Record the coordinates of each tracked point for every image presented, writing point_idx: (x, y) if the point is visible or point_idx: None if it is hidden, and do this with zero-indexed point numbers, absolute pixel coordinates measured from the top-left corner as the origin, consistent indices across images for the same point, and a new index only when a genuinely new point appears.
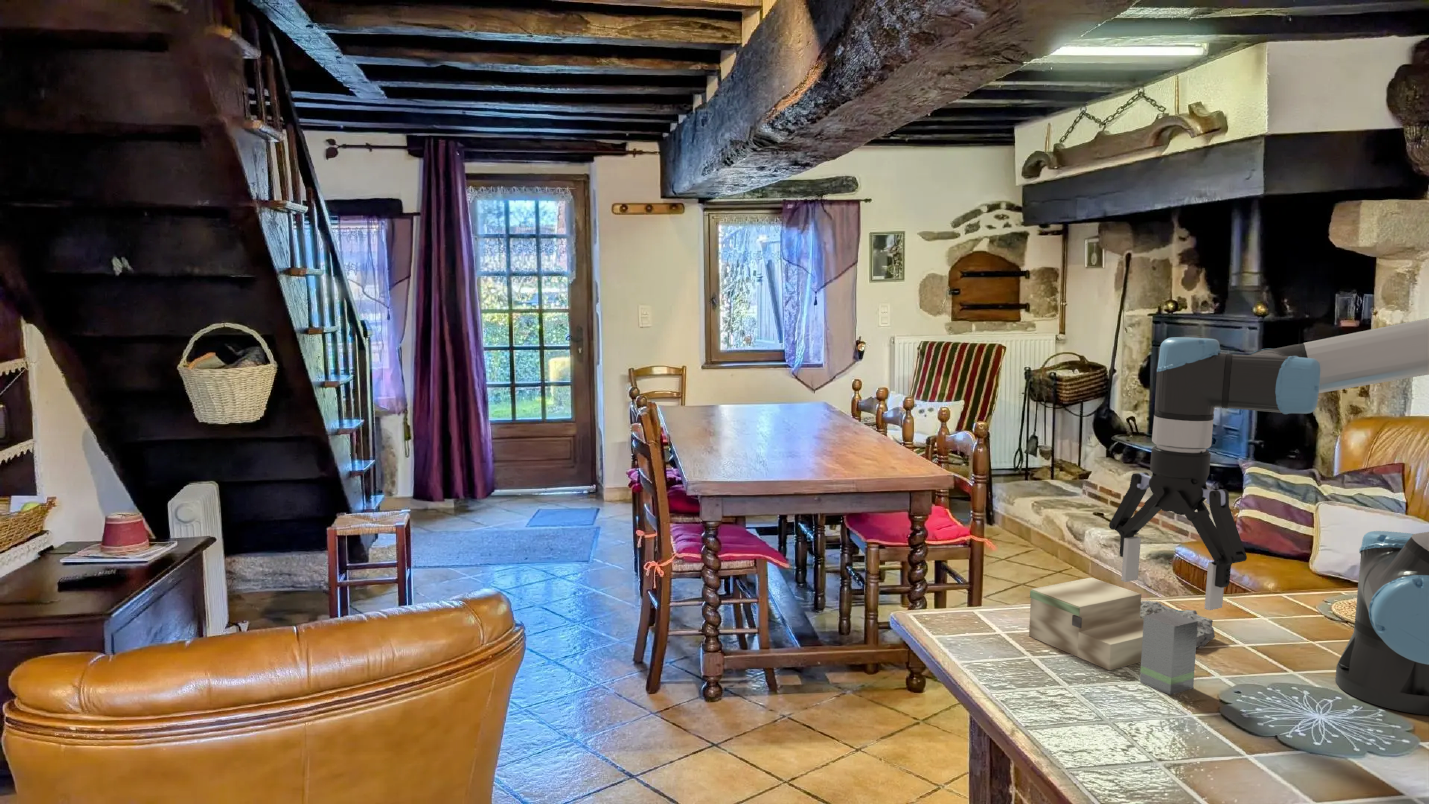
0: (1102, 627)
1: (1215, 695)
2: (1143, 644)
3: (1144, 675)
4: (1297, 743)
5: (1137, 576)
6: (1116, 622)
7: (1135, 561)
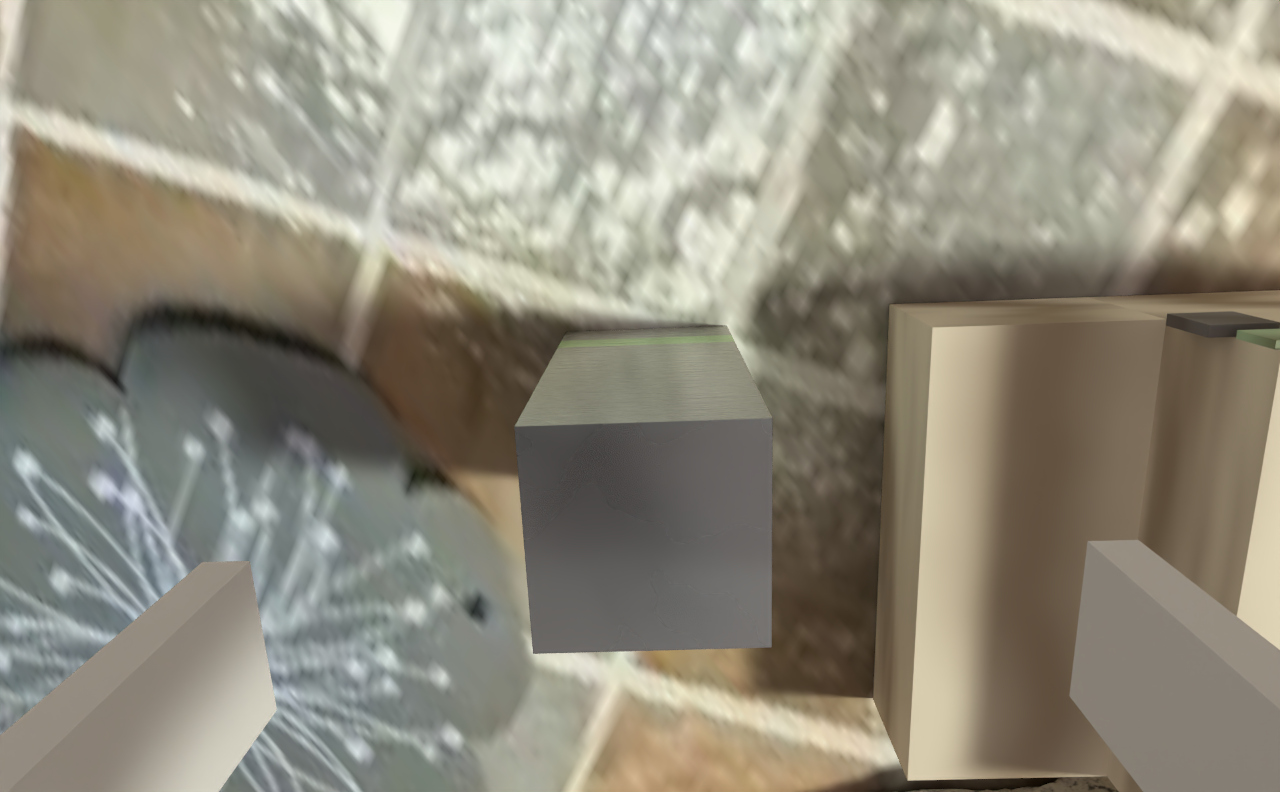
0: (1131, 497)
1: (486, 501)
2: (739, 369)
3: (707, 334)
4: (42, 398)
5: (1086, 710)
6: None
7: (1191, 788)
